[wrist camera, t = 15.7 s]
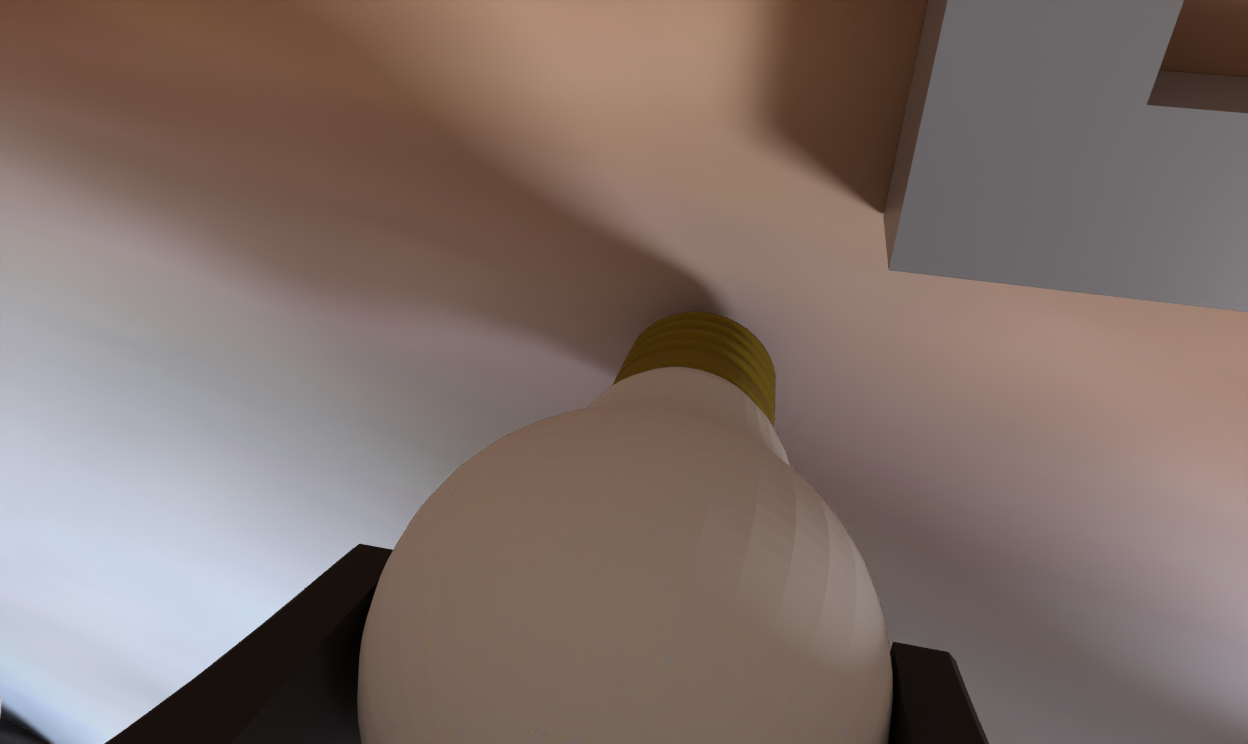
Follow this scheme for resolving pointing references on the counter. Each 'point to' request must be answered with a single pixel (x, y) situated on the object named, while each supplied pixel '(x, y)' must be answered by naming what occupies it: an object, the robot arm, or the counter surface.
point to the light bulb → (632, 577)
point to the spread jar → (16, 733)
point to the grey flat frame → (1070, 155)
